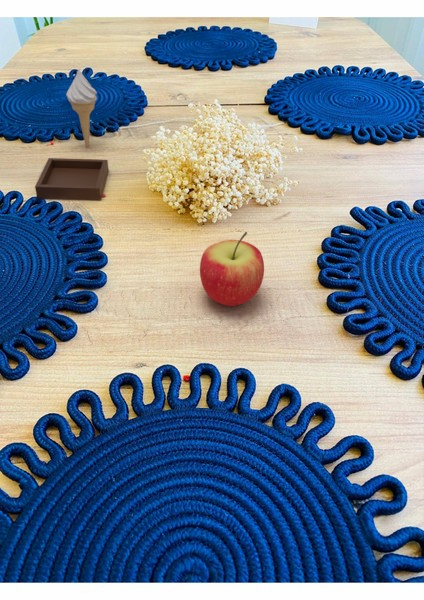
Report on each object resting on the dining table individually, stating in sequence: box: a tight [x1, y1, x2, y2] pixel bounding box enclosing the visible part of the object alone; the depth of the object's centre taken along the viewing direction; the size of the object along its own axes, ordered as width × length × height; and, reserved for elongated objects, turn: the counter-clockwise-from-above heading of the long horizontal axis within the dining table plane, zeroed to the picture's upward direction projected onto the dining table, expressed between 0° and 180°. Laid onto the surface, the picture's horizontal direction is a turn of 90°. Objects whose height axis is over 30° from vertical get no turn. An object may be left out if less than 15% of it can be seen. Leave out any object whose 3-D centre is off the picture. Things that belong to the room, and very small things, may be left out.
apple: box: [199, 231, 265, 307], centre depth 68 cm, size 8×8×10 cm
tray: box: [34, 157, 110, 201], centre depth 93 cm, size 11×11×2 cm
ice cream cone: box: [65, 68, 98, 149], centre depth 100 cm, size 6×6×15 cm
